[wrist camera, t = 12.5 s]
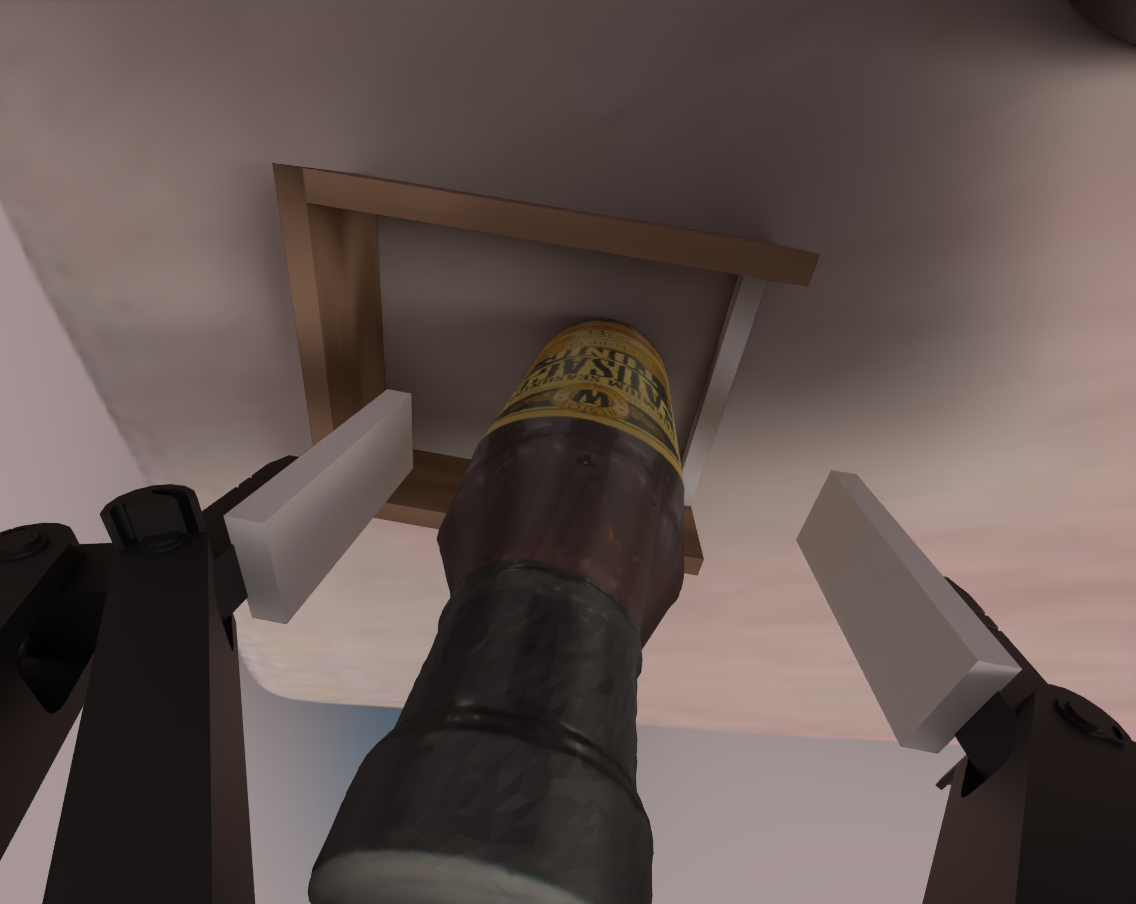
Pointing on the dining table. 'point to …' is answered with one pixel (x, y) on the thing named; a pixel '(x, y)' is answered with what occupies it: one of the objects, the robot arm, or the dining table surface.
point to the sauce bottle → (533, 654)
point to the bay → (350, 244)
